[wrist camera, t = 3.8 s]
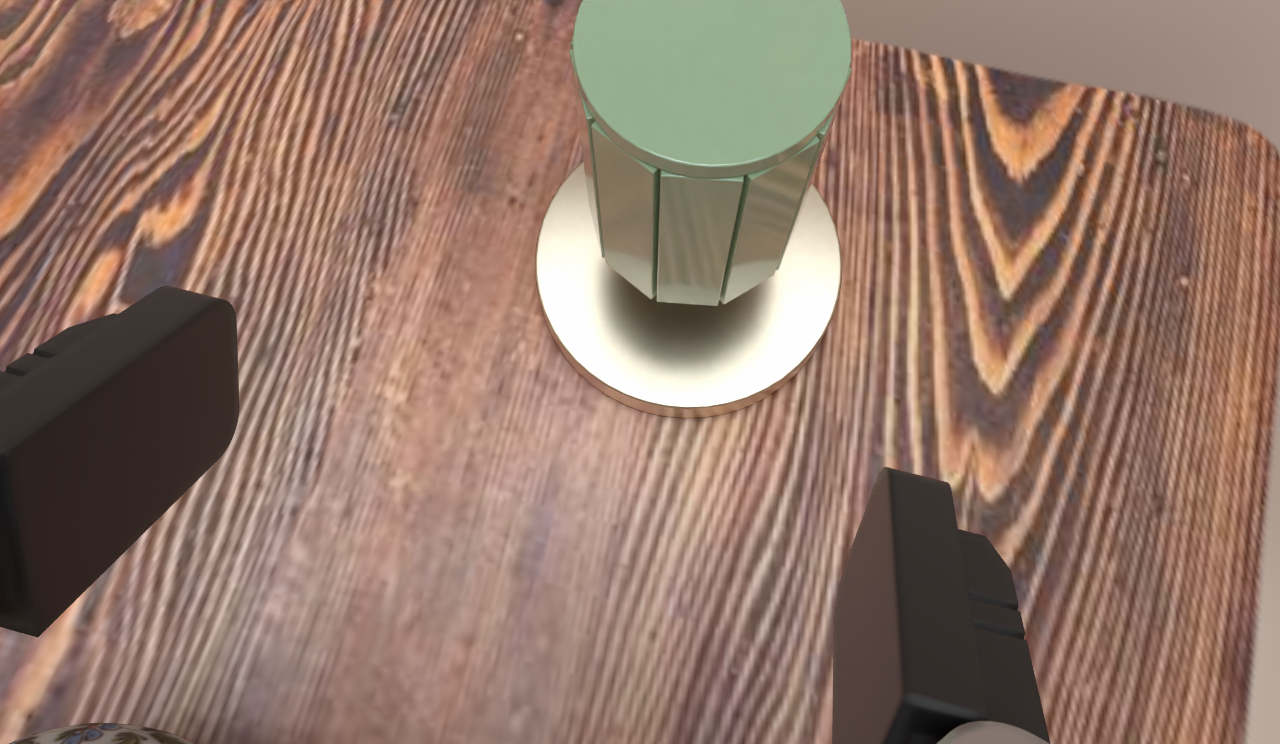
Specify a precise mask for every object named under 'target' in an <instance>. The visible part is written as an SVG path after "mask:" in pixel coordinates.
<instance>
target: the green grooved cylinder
mask: <svg viewBox="0 0 1280 744" xmlns="http://www.w3.org/2000/svg"><path fill="white" fill-rule="evenodd" d="M569 53H570V61H571V69H572V77H573V84H574V92H575V100H576V108H577V116H578V123H579V131H580V139H581V147H582V155H583V162H584V170H585V178H586V186H587V194H588V201H589V207H590V211H591V215H592V220H593V224H594V228H595V232H596V236H597V240H598V244H599V248H600V252H601V256H602V258H605V262H606V264H607V265H609V266H610V267H611V268H612V269H614V270H615V271H616V272H617V273H619V274H620V275H621V276H622V277H624V278H625V279H626V280H627V281H629V282H630V283H631V284H632V285H634V286H635V287H636V288H637V289H639V290H640V291H641V292H642V293H644V294H645V295H646V296H647V297H648V298H650V299H652V298H653V297H654V296H655V295H656V294H657V302H667V303H681V304H695V305H709V306H718V303H719V299H720V301H721V302H722V304H726V303H727V302H729V301H731V300H733V299H734V298H736V297H738V296H739V295H741V294H743V293H744V292H746V291H748V290H750V289H751V288H753V287H755V286H756V285H758V284H760V283H762V282H763V281H765V280H767V279H768V278H770V277H772V276H773V275H774V274H775V271H776V270H779V268H780V265H781V263H782V260H783V258H784V255H785V253H786V250H787V248H788V245H789V243H790V240H791V238H792V235H793V233H794V230H795V228H796V225H797V223H798V220H799V218H800V215H801V212H802V209H803V206H804V204H805V201H806V198H807V195H808V192H809V190H810V187H811V184H812V181H813V178H814V175H815V173H816V170H817V167H818V164H819V161H820V159H821V156H822V153H823V150H824V147H825V144H826V142H827V139H828V136H829V133H830V130H831V128H832V125H833V122H834V119H835V116H836V113H837V111H838V108H839V105H840V102H841V99H842V97H843V94H844V91H845V88H846V85H847V82H848V80H849V77H850V74H851V69H850V66H851V63H852V61H851V36H850V28H849V25H848V21H847V17H846V13H845V11H844V8H843V6H842V4H841V1H840V0H583V1H582V3H581V5H580V7H579V10H578V14H577V17H576V21H575V26H574V34H573V39H572V41H571V50H570V52H569Z"/></svg>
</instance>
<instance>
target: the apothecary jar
mask: <svg viewBox="0 0 1280 744" xmlns="http://www.w3.org/2000/svg"><path fill="white" fill-rule="evenodd" d="M9 744H194V743H192V742H190V741H188V740H186V739H183V738H181V737H179V736H177V735H174V734H171V733H168V732H165V731H161V730H157V729H152V728H147V727H142V726H136V725H125V724H112V723H89V724H80V725H73V726H67V727H61V728H56V729H52V730H47V731H43V732H40V733H36V734H33V735H30V736H27V737H25V738H22V739H19V740H17V741H14V742H12V743H9Z"/></svg>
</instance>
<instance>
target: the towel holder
mask: <svg viewBox="0 0 1280 744" xmlns="http://www.w3.org/2000/svg"><path fill="white" fill-rule="evenodd" d="M535 277H536V284H537V290H538V296H539V299H540V302H541V306H542V309H543V312H544V316H545V319H546V322H547V325H548V327H549V329H550V332H551V334H552V336H553V338H554V340H555V342H556V344H557V345H558V347H559V348H560V350H561V351H562V353H563V355H564V356H565V358H566V359H567V360H568V361H569V362H570V364H571V365H572V366H573V367H574V368H575V369H576V371H577V372H578V373H579V374H580V375H582V376H583V377H584V378H585V379H586V380H587V381H588V382H589V383H590V384H592V385H593V386H594V387H596V388H597V389H599V390H600V391H602V392H603V393H605V394H606V395H607V396H609V397H611V398H613V399H615V400H617V401H619V402H621V403H623V404H625V405H627V406H630V407H633V408H635V409H638V410H641V411H644V412H648V413H652V414H657V415H661V416H668V417H679V418H697V417H709V416H715V415H721V414H726V413H729V412H732V411H736V410H739V409H742V408H745V407H747V406H749V405H752V404H754V403H756V402H758V401H760V400H762V399H764V398H766V397H767V396H769V395H770V394H772V393H774V392H775V391H777V390H778V389H780V388H781V387H782V386H783V385H784V384H786V383H787V382H788V381H789V380H790V379H792V378H793V377H794V376H795V375H796V374H797V373H798V371H799V370H800V369H801V368H802V367H803V366H804V365H805V364H806V363H807V361H808V360H809V358H810V357H811V355H812V354H813V353H814V351H815V350H816V348H817V347H818V345H819V343H820V341H821V340H822V338H823V336H824V334H825V332H826V330H827V328H828V326H829V324H830V322H831V320H832V317H833V314H834V311H835V308H836V305H837V302H838V298H839V293H840V287H841V281H842V257H841V247H840V242H839V238H838V233H837V229H836V226H835V223H834V221H833V218H832V216H831V213H830V211H829V208H828V207H827V205H826V203H825V201H824V199H823V198H822V196H821V194H820V192H819V191H818V190H817V188H816V187H815V186H814V184H813V183H812V184H811V187H810V190H809V192H808V195H807V198H806V201H805V204H804V206H803V209H802V212H801V215H800V218H799V220H798V223H797V225H796V228H795V230H794V233H793V235H792V238H791V240H790V243H789V245H788V248H787V250H786V253H785V255H784V258H783V260H782V263H781V265H780V268H779V270H776V271H775V274H774V275H773V276H772V277H770V278H768V279H767V280H765V281H763V282H762V283H760V284H758V285H756V286H755V287H753V288H751V289H750V290H748V291H746V292H744V293H743V294H741V295H739V296H738V297H736V298H734V299H733V300H731V301H729V302H727V303H726V304H722V302H721V301H720V299H719V303H718V306H709V305H695V304H681V303H667V302H657V294H656V295H655V296H654V297H653V298H652V299H650V298H648V297H647V296H646V295H645V294H644V293H642V292H641V291H640V290H639V289H637V288H636V287H635V286H634V285H632V284H631V283H630V282H629V281H627V280H626V279H625V278H624V277H622V276H621V275H620V274H619V273H617V272H616V271H615V270H614V269H612V268H611V267H610V266H609V265H607V264H606V262H605V258H602V256H601V252H600V248H599V244H598V240H597V236H596V232H595V228H594V224H593V220H592V215H591V211H590V207H589V201H588V194H587V186H586V178H585V170H584V162H583V161H582V162H581V163H580V164H579V165H578V166H577V167H576V168H575V169H574V170H573V171H572V172H571V173H570V174H569V176H568V177H567V178H566V179H565V181H564V182H563V183H562V184H561V186H560V187H559V188H558V190H557V192H556V193H555V195H554V197H553V198H552V200H551V202H550V203H549V206H548V208H547V210H546V213H545V215H544V217H543V220H542V223H541V227H540V230H539V234H538V238H537V245H536V253H535Z"/></svg>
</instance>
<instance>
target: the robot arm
mask: <svg viewBox="0 0 1280 744" xmlns="http://www.w3.org/2000/svg"><path fill="white" fill-rule="evenodd" d="M238 417H239V384H238V353H237V323H236V315H235V311H234V309H233V307H232V305H231V304H230V303H229V302H228V301H226V300H223V299H219V298H215V297H211V296H207V295H203V294H199V293H195V292H191V291H187V290H183V289H179V288H175V287H171V286H163V287H160V288H158V289H156V290H155V291H153V292H152V293H150V294H149V295H147V296H146V297H144V298H142V299H141V300H139V301H138V302H136V303H135V304H133V305H132V306H130V307H129V308H127V309H126V310H124V311H122V312H121V313H119V314H114V313H113V314H110V315H107V316H104V317H101V318H98V319H94V320H91V321H88V322H85V323H82V324H79V325H75V326H72V327H69V328H67V329H65V330H64V331H62V332H61V333H59V334H57V335H56V336H54V337H53V338H51V339H49V340H48V341H46V342H45V343H43V344H41V345H40V346H38V347H37V348H35V349H34V353H33V354H29V353H27V354H25V355H24V356H22V357H21V358H19V359H17V360H16V361H14V362H13V363H11V364H9V365H8V366H6V371H5V372H2V371H0V627H3V628H6V629H10V630H14V631H17V632H21V633H24V634H28V635H31V636H35V637H39V636H40V635H41V634H42V633H43V632H44V631H45V630H46V629H47V628H48V627H49V626H50V625H51V624H52V623H53V622H54V621H55V620H56V619H57V618H58V617H59V616H60V615H61V614H62V613H63V612H64V611H65V610H66V609H67V608H68V607H69V606H70V605H71V604H72V603H73V602H74V601H75V600H76V599H77V598H78V597H79V596H80V595H81V594H82V593H83V592H84V591H85V590H86V589H87V588H88V587H89V586H91V585H92V584H93V583H94V582H95V581H96V580H97V579H98V578H99V577H100V576H101V575H102V574H103V573H104V572H105V571H106V570H107V569H108V568H109V567H110V566H111V565H112V564H113V563H114V562H115V561H116V560H117V559H118V558H119V557H120V556H121V555H122V554H123V553H124V552H125V551H126V550H127V549H128V548H129V547H130V546H131V545H132V544H133V543H134V542H135V541H136V540H137V539H138V538H139V537H140V536H141V535H142V534H143V533H144V532H145V531H146V530H147V529H148V528H149V527H150V526H151V525H152V524H153V523H154V522H155V521H156V520H157V519H158V518H159V517H161V516H162V515H163V514H164V513H165V512H166V511H167V510H168V509H169V508H170V507H171V506H172V505H173V504H174V503H175V502H176V501H177V500H178V499H179V498H180V497H181V496H182V495H183V494H184V493H185V492H186V491H187V490H188V489H189V488H190V487H191V486H192V485H193V484H194V483H195V482H196V481H197V480H198V479H199V478H200V477H201V476H202V475H203V474H204V473H205V472H206V471H207V470H208V469H209V468H210V467H211V466H212V465H213V464H214V463H215V462H216V461H217V460H218V459H219V458H220V457H221V456H222V455H223V454H224V452H225V451H226V449H227V448H228V446H229V444H230V442H231V440H232V438H233V435H234V433H235V430H236V426H237V422H238ZM1017 608H1018V600H1017V596H1016V591H1015V587H1014V583H1013V578H1012V574H1011V570H1010V569H1009V568H1008V566H1007V565H1006V563H1005V562H1004V561H1003V559H1002V558H1001V557H1000V555H999V554H998V553H997V551H996V550H995V548H994V547H993V546H992V544H991V543H990V542H989V540H988V539H987V537H986V536H982V535H978V534H974V533H971V532H967V531H963V530H959V529H958V528H957V522H956V516H955V510H954V504H953V498H952V492H951V487H950V485H949V483H947V482H944V481H940V480H936V479H932V478H928V477H924V476H920V475H916V474H912V473H908V472H904V471H900V470H896V469H892V468H888V467H884V468H883V469H882V471H881V472H880V474H879V476H878V478H877V480H876V483H875V485H874V488H873V491H872V493H871V496H870V499H869V501H868V504H867V507H866V510H865V512H864V515H863V518H862V521H861V523H860V526H859V529H858V531H857V534H856V537H855V540H854V542H853V545H852V548H851V550H850V553H849V556H848V559H847V561H846V564H845V567H844V570H843V573H842V577H841V580H840V584H839V589H838V594H837V599H836V605H835V613H834V653H833V726H832V744H1050V741H1049V736H1048V732H1047V727H1046V723H1045V719H1044V714H1043V710H1042V705H1041V701H1040V697H1039V692H1038V688H1037V684H1036V679H1035V675H1034V670H1033V666H1032V662H1031V657H1030V653H1029V648H1028V644H1027V641H1026V640H1024V635H1025V631H1024V627H1023V622H1022V618H1021V613H1020V612H1019V611H1017Z"/></svg>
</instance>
